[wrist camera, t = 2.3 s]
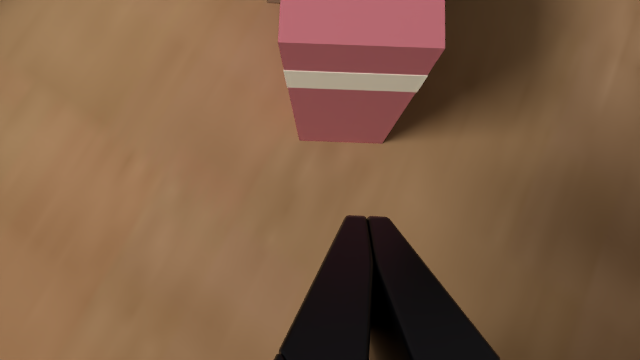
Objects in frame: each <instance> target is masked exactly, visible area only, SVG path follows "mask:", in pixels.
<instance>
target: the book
mask: <svg viewBox="0 0 640 360" xmlns="http://www.w3.org/2000/svg"><path fill="white" fill-rule="evenodd" d="M278 44H279V49H280V54H281V58H282V63H283V67H284V70H283V71H284V76H285V80H286V85H287V87H288V90H289V95H290V100H291V104H292V109H293V113H294V118H295V122H296V127H297V132H298V136H299V140H302V141H328V142H355V143H383V141H384V140H385V138H386V137H387V135H388V134H389V132H390V131H391V129H392V128H393V126H394V125H395V123H396V122H397V120H398V119H399V117H400V116H401V114H402V113H403V111H404V110H405V108H406V107H407V105H408V104H409V102H410V101H411V99H412V98H413V96H414V95H415V93H416V92H417V91H418V90H419V88H420V87H421V86H422V84H423V83H424V81H425V80H426V78H427V77H428V73H429V72H430V70H431V69H432V67H433V66H434V64H435V63H436V61H437V60H438V58H439V57H440V55H441V54H442V52H443V51H444V49H445V0H280V17H279V34H278Z"/></svg>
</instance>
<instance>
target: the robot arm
mask: <svg viewBox="0 0 640 360" xmlns="http://www.w3.org/2000/svg"><path fill="white" fill-rule="evenodd" d="M369 359H370V360H500V358H499V356H498V355H497V354H496V352H495V351H494V350H493V349H492V347H491V346H490V345H489V344H488V342H487V341H486V340H485V339H484V337H483V336H482V335H481V334H480V332H479V331H478V330H477V329H476V327H475V326H474V325H473V324H472V322H471V321H470V320H469V318H468V317H467V316H466V315H465V313H464V312H463V311H462V310H461V308H460V307H459V306H458V305H457V303H456V302H455V301H454V300H453V298H452V297H451V296H450V295H449V293H448V292H447V291H446V289H445V288H444V287H443V286H442V284H441V283H440V282H439V281H438V279H437V278H436V277H435V276H434V274H433V273H432V272H431V271H430V269H429V268H428V267H427V266H426V264H425V263H424V262H423V260H422V259H421V258H420V257H419V255H418V254H417V253H416V252H415V250H414V249H413V248H412V247H411V245H410V244H409V243H408V242H407V240H406V239H405V238H404V237H403V235H402V234H401V233H400V232H399V230H398V229H397V228H396V226H395V225H394V224H393V223H392V221H391V220H390V219H389V218H387V217H378V216H369V217H368V218H367V219H366V217H365V216H352V215H348V216H346V217H345V218H344V220H343V222H342V224H341V226H340V228H339V230H338V232H337V234H336V237H335V239H334V241H333V243H332V245H331V247H330V249H329V251H328V253H327V255H326V257H325V259H324V261H323V263H322V265H321V267H320V269H319V271H318V273H317V275H316V277H315V279H314V281H313V283H312V285H311V287H310V289H309V291H308V293H307V295H306V297H305V299H304V301H303V303H302V305H301V307H300V309H299V311H298V313H297V315H296V317H295V319H294V321H293V323H292V325H291V327H290V329H289V331H288V333H287V335H286V337H285V339H284V341H283V343H282V345H281V347H280V349H279V354H277V355H276V356H275V358H274V360H369Z"/></svg>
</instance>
